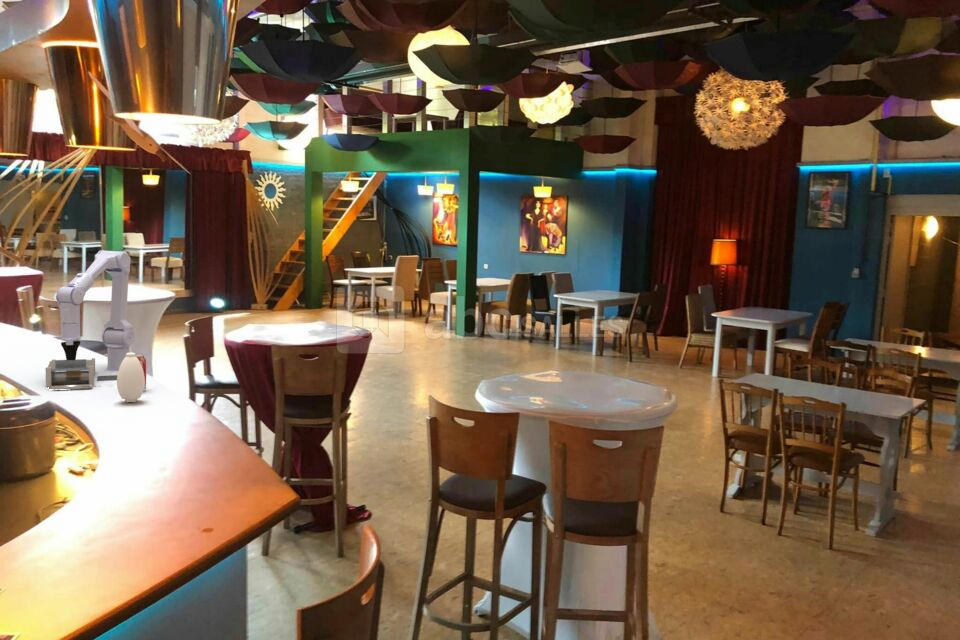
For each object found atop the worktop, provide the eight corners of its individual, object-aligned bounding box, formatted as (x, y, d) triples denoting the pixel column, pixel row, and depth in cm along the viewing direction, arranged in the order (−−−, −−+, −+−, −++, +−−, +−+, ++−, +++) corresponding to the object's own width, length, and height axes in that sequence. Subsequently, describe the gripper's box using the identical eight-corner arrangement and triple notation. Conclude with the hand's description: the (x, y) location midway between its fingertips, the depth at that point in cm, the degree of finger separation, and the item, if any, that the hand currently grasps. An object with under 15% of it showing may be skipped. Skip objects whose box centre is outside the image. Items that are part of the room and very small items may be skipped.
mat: (97, 377, 272) (97, 375, 272) (125, 376, 276) (125, 374, 276) (96, 382, 264) (96, 381, 264) (125, 381, 268) (125, 379, 268)
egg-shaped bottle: (142, 405, 237) (141, 346, 234) (114, 405, 235) (113, 346, 233) (147, 399, 244) (146, 342, 242) (120, 399, 243) (119, 342, 240)
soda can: (150, 389, 258) (150, 353, 256) (139, 393, 251) (138, 357, 249) (130, 388, 259) (129, 352, 257) (118, 392, 252) (117, 356, 250)
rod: (48, 391, 249) (48, 386, 249) (49, 390, 250) (48, 385, 250) (93, 389, 254) (93, 384, 254) (93, 388, 256) (93, 383, 256)
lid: (50, 363, 265) (50, 355, 265) (94, 362, 271) (94, 354, 271) (46, 371, 252) (46, 363, 252) (93, 370, 258) (93, 361, 257)
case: (51, 375, 273) (51, 355, 272) (96, 373, 279) (95, 354, 278) (46, 389, 252) (45, 367, 251) (94, 387, 258) (94, 366, 257)
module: (66, 373, 274) (66, 360, 273) (80, 373, 276) (80, 359, 275) (66, 376, 270) (65, 362, 269) (80, 375, 272) (80, 362, 271)
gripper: (58, 320, 263) (59, 359, 265) (55, 326, 250) (56, 367, 252) (81, 319, 266) (82, 359, 268) (79, 325, 253) (80, 366, 255)
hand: (71, 363), depth 260 cm, fingers closed
